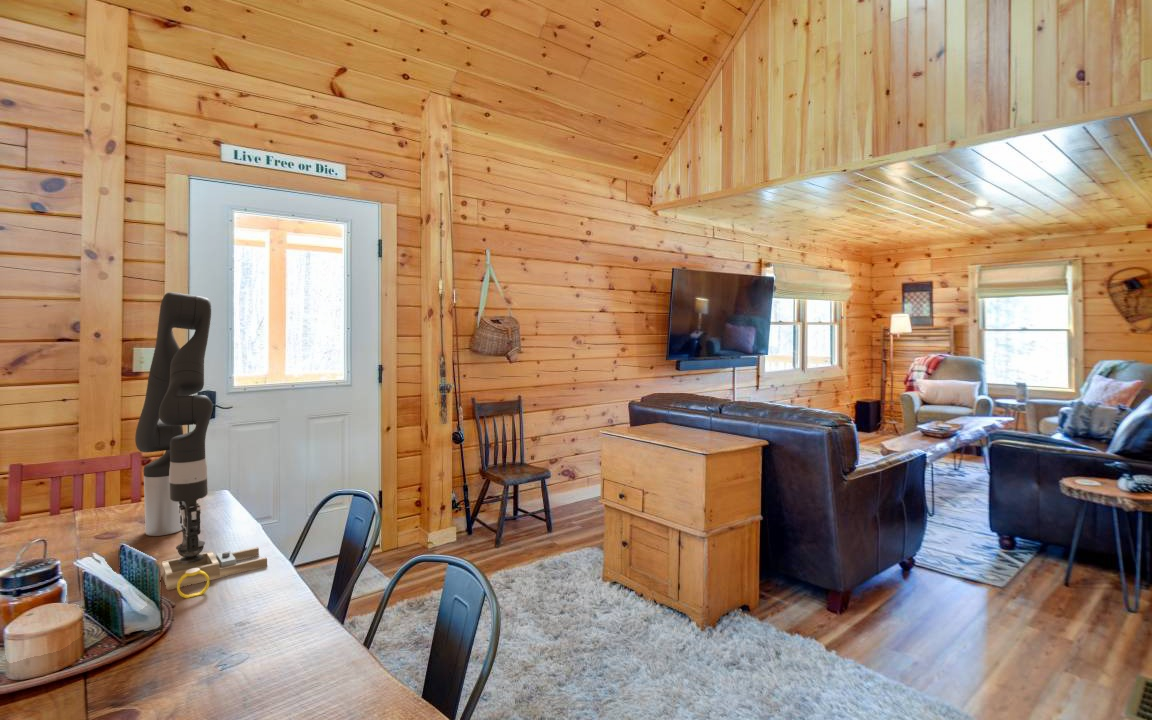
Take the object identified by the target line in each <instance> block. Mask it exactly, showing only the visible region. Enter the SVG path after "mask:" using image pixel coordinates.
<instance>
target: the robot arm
mask: <svg viewBox="0 0 1152 720" xmlns="http://www.w3.org/2000/svg"><path fill="white" fill-rule="evenodd" d="M159 308H160V309H159V316H158V324H157V333H156V340H155V341H156V342H155V347H154V352H153V356H152V360H151V364H150V368H149V373H148V379H147V384H146V393H145V398H144V403H143V407H142V410H141V413H140V415H139V418H138V422H137V426H136V429H135V437H134V438H135V446H136V447H135V448H137V450H138V451H139V452H141V453H155V452H162V451H164V454H163V455H161V456H160V457H158V458H157V459H155V460H153V461H151V462H149V463H147V464H145V466H144V467H143V489H144V490H143V493H144V498H143V499H144V525H145V527H144V528H145V529H144V532H145V536H150V537H158V536H159V537H160V536H166V535H172V534H175V533H178V532H180V531H181V530H183V527H184V528H186V537H187V551H188V552H193V551H197V550H198V538H199V535H200V534H201V532H202V531H201V513H202V511H201V505H200V504H199V502H197V501H199V500H200V499H203V498H205V497H206V496H208V491H209V490H208V466H207V460H206V437H207V431H208V427H209V424H210V421H211V418H212V413H213V412H214V411H213V409H214V405H213V401H212V400H211V398H210V397H209V396H207V395H203V394H198V393H199V392H201V391H202V390H204V389H203V388H204V385H205V357H206V356H205V355H206V350H207V345H208V340H209V339H208V338H209V335H210V334H209V333H210V328H211V327H210V326H211V319H212V305H211V301H210V299H209V298H207V297H206V296H205V297H204V296H199V295H194V294H187V293H181V292H173V291H171V292H166V293H165V294H164V295H163V297H162V299H161V303H160V306H159ZM174 328H176V329H182V330H183V329H184V330H192V331H194V334H193V335H192V336H191V338H190V339H189V340H187V342H185V344H184V345H182V347H180V346H179V345H178V343H177V341H176V338H175V335H174V332H173V329H174ZM191 425H192V426H193V425H195V427H194V428H193V430H192V431H190V432H187V433H184V428H183V426H191ZM186 522H187V523H186ZM192 526H195V528H196V530H191V531H190V527H192Z"/></svg>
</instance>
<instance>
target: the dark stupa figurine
mask: <svg viewBox="0 0 1152 720" xmlns="http://www.w3.org/2000/svg"><path fill="white" fill-rule="evenodd" d="M186 523H187V522H186ZM191 530H196V528H195V526H192V527H190V531H191ZM180 531H181V533H182V542H181V543H180V544H178V545H176V546H175V549H176V550H177V553H178V555H180V558H181V557H182V558H181V559H179V560H178V563H179V564H190V563H195V562H198V561H200V560H202V559H203V558H204V556H203V555H200V553H202V551H203V549H204V548H205V547H204V546H205V545H206V541H204V540H201V539H199V537H198V550H197V551H193V552H188V551H187V537H186V528H184V527H183V529H182V530H180Z"/></svg>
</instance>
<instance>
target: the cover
mask: <svg viewBox="0 0 1152 720" xmlns="http://www.w3.org/2000/svg"><path fill="white" fill-rule="evenodd" d="M232 553H233V552H232V551H231V550H227V551H223V552H219V553H216V557H217V560H218V562H219V564H220V568H221V567H225V566H230V565H234V564H237V561H236V559H235V557H234V556H233V554H232Z"/></svg>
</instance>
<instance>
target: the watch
mask: <svg viewBox="0 0 1152 720" xmlns="http://www.w3.org/2000/svg"><path fill="white" fill-rule="evenodd" d="M198 573H199V574H203V575H204V576H205V577H206V578H207V581H206V583H205V586H204V587H203V589H201V591H199V592H194V593H189V594H185V593H183V592H182V591H181V589H180V588H181V587H180V584H181V582H182V580H183V579H184V578H186V577H187V576H193V575H196V574H198ZM209 586H210V580H209V577H208V575H207V574H206V573H205V572H204V571H201V570H200V568H192V569H189V570H187V571H186V572H185V574H184V575H183V576H182V577H181V578H180V579H179V581H178V583H177V588H176V589H177V593H178V594H179V596H180V597H182V598H185V599H190V597H191V598H194V597H199V596H202V595H204V593H205V592H207V590H208V588H209Z"/></svg>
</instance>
